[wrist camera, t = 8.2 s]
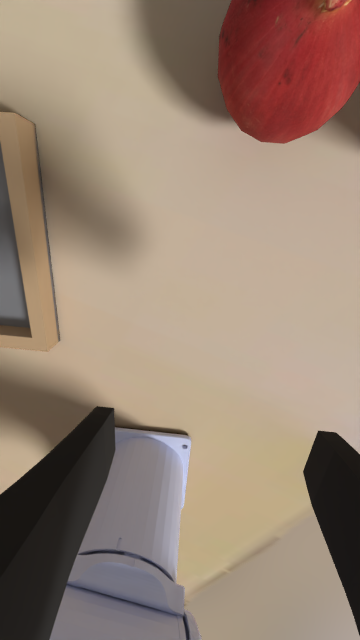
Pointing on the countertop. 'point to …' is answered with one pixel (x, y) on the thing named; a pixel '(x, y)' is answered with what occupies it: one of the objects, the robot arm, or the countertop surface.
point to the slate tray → (24, 243)
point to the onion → (288, 64)
